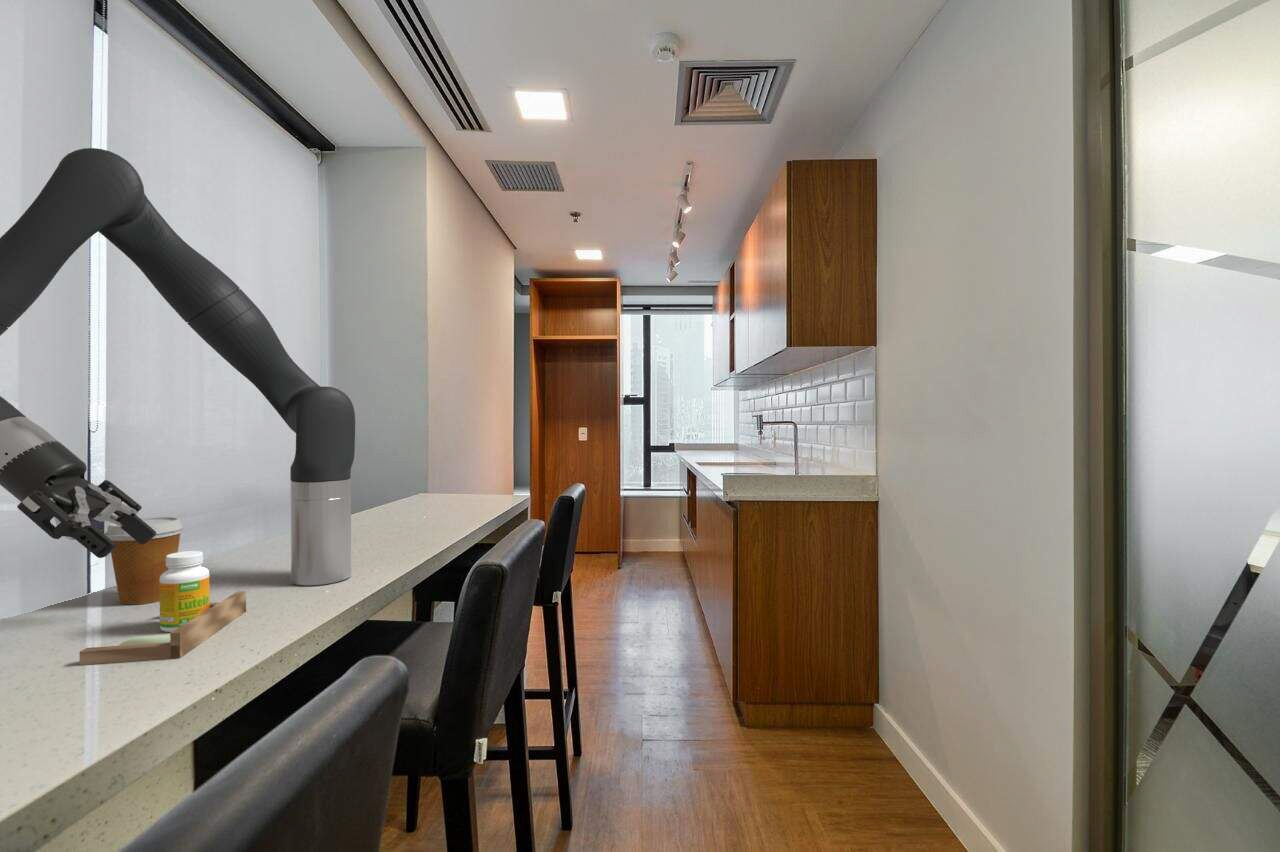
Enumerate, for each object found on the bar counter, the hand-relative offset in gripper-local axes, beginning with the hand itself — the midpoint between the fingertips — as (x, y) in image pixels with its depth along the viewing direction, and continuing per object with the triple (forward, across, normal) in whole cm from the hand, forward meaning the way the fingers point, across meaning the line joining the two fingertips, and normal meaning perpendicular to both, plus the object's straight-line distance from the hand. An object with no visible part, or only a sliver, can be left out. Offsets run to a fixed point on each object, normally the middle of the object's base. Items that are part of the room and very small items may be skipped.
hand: (130, 545), depth 80 cm
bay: (+12, -4, +3) cm, 13 cm away
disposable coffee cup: (+4, +15, +12) cm, 20 cm away
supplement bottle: (+12, 0, +4) cm, 13 cm away
